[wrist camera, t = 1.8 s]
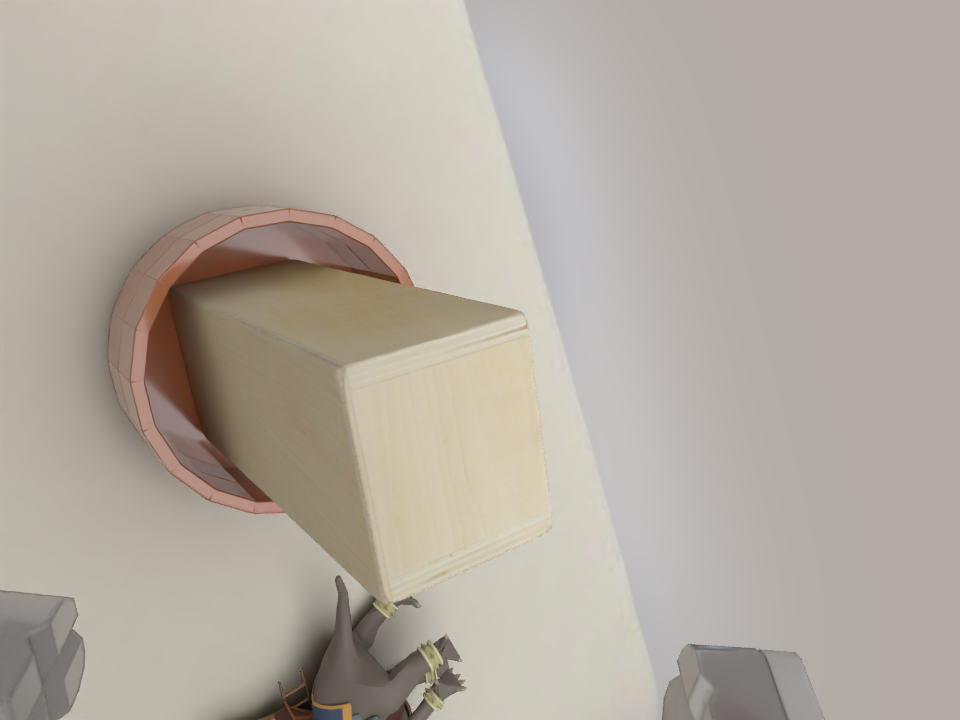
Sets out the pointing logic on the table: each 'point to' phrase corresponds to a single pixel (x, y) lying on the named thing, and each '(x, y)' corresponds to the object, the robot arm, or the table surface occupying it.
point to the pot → (154, 341)
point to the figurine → (373, 673)
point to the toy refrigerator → (372, 415)
